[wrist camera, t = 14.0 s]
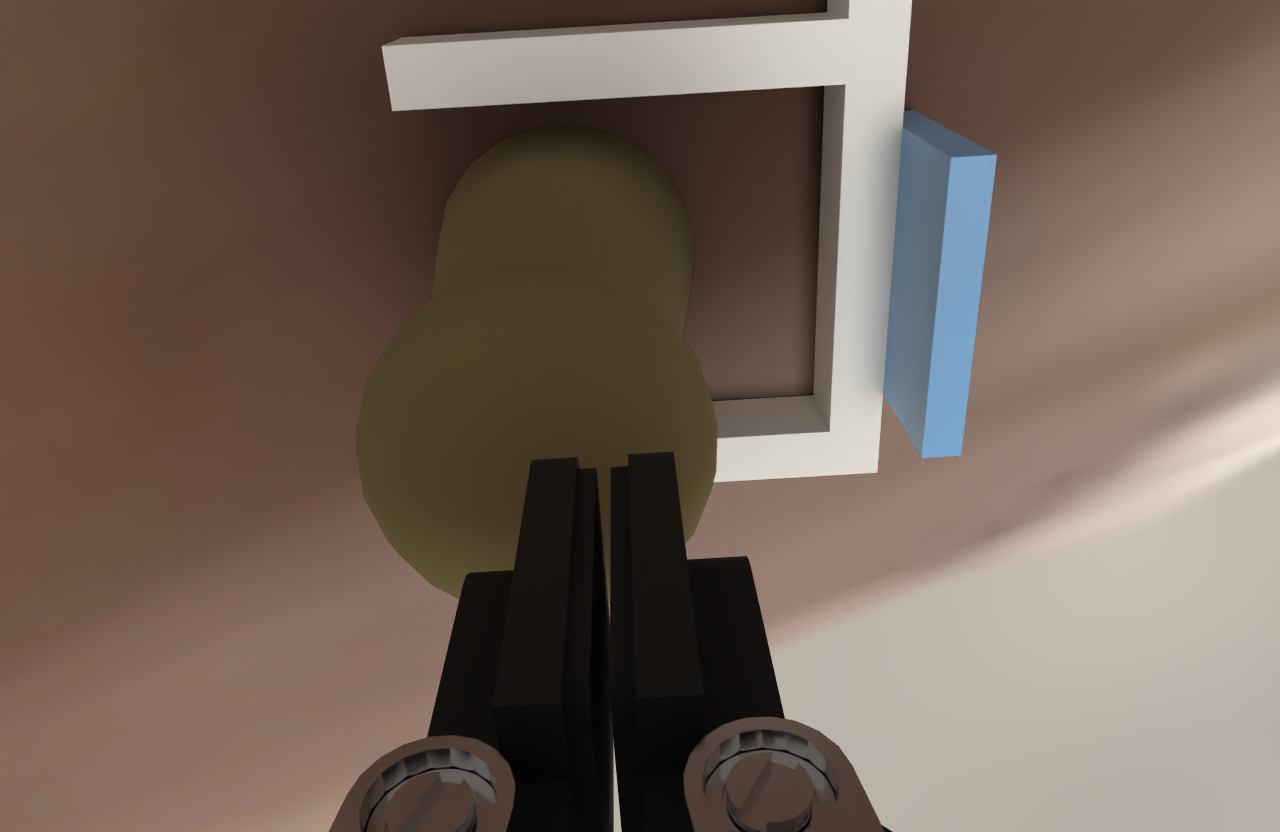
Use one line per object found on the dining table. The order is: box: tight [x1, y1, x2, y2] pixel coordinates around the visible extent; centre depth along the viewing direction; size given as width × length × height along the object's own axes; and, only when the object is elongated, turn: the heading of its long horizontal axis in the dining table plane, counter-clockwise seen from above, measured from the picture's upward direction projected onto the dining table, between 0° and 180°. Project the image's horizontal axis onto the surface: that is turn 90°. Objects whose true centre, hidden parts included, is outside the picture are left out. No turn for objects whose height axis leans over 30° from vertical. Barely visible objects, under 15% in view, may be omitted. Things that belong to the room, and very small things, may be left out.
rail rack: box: [382, 0, 997, 482], centre depth 18 cm, size 19×11×5 cm, turn 3°
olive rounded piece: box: [356, 125, 718, 604], centre depth 17 cm, size 6×6×11 cm
